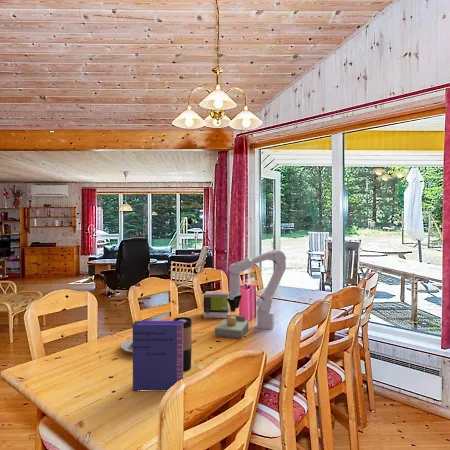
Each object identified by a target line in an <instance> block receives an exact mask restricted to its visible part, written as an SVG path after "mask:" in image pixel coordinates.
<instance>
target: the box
mask: <svg viewBox="0 0 450 450" xmlns="http://www.w3.org/2000/svg"><path fill="white" fill-rule="evenodd" d="M248 331H249V323H248V324H247V325H246V326H245V328H244V329H243V330H242V331H241V332H238V331H229V330H219V329H215V328H214V336H215V337H223V338H230V339H239V340H240V339H242V338H243V337H244V336H245V335H246V333H247V332H248Z"/></svg>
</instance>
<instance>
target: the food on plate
mask: <svg viewBox="0 0 450 450" xmlns="http://www.w3.org/2000/svg"><path fill="white" fill-rule="evenodd" d="M119 347H120V348H121V349H122V352H125V351H126V352H127V353H132V354H133V338H130V339H127V340H124V341H123V342H121V343H120V346H119Z"/></svg>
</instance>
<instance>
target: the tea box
mask: <svg viewBox="0 0 450 450" xmlns="http://www.w3.org/2000/svg"><path fill="white" fill-rule="evenodd" d="M228 292H229V291H224V290H223V291H221V290H220V291H218V290H217V291H215V290H213V291H212V290H211V291H207V290H206V291H205V292H204V293H203V318H207V319H211V318H212V319H227V315H230V305H229V302H228V301H227V299H228V298H230V295H229V294H228Z"/></svg>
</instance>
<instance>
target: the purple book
mask: <svg viewBox="0 0 450 450" xmlns="http://www.w3.org/2000/svg"><path fill="white" fill-rule="evenodd" d="M132 339H133V352H132V392H141V391H140V390H168V389H169V388H170V387H171V386H173V385H174V384H175V383H176V382H177V381H179V380H181V379H183V380H184V372H183V321H173V320H134V322H133V323H132ZM138 390H139V391H138Z"/></svg>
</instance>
